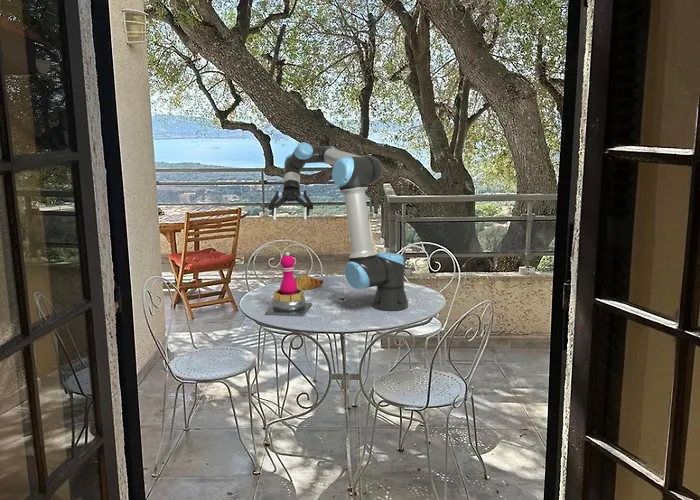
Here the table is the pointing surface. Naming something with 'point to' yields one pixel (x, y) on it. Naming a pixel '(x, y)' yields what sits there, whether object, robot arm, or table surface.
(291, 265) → the pepper mill
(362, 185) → the robot arm
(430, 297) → the table surface
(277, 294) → the silver and gold bowl
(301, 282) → the croissant
